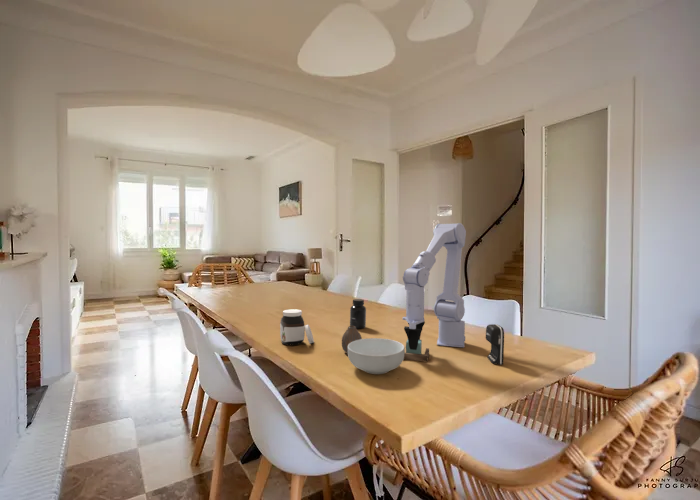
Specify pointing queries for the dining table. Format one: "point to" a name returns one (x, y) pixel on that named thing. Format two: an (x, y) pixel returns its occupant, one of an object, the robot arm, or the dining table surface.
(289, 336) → the spread jar
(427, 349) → the brown angular piece
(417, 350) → the block
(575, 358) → the dining table surface
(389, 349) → the cereal bowl
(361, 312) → the supplement bottle
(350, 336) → the vase
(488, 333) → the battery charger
